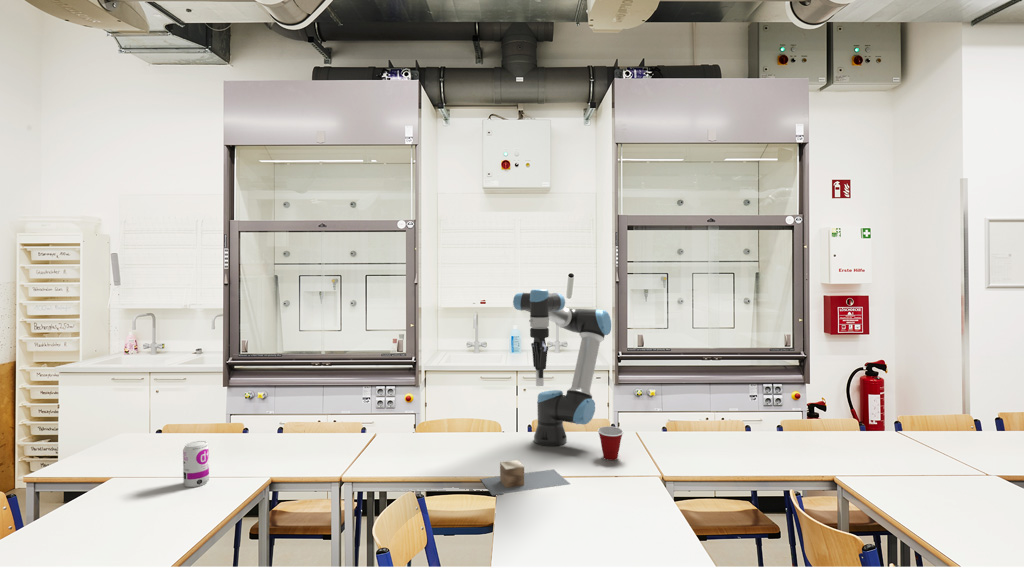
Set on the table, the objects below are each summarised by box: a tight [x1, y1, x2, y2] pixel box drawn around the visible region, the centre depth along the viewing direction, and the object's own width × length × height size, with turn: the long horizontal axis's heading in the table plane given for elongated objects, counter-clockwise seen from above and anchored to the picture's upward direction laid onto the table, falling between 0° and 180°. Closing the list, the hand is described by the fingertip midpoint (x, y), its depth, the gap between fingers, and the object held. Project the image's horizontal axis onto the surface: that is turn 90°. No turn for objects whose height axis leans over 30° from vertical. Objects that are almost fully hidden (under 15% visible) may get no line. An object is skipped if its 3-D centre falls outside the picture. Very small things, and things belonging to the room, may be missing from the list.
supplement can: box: [182, 440, 210, 488], centre depth 204 cm, size 8×8×15 cm
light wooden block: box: [499, 459, 525, 488], centre depth 202 cm, size 7×7×7 cm
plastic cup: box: [597, 425, 624, 461], centre depth 230 cm, size 11×11×12 cm
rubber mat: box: [479, 469, 571, 496], centre depth 204 cm, size 30×16×1 cm, turn 108°
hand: (539, 385), depth 221 cm, fingers closed
